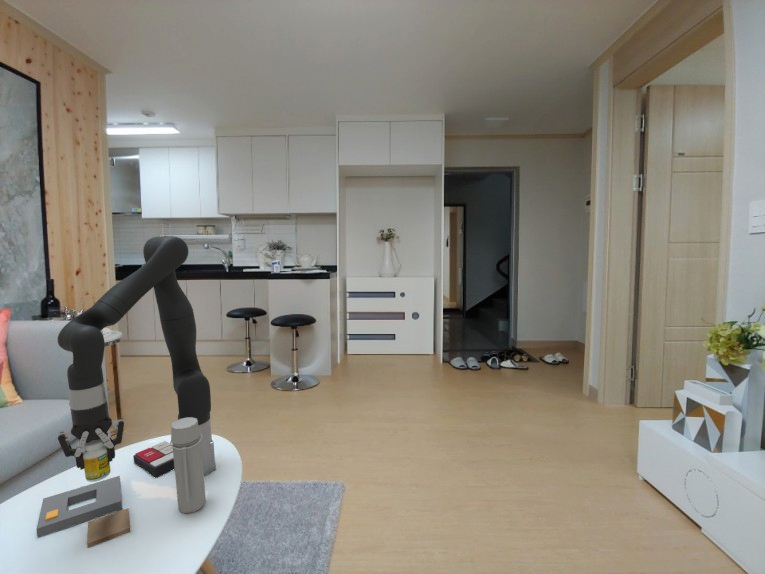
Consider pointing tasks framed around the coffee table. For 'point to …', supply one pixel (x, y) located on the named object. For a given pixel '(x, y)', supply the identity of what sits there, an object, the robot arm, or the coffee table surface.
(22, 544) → the coffee table surface
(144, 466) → the calculator
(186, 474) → the water bottle
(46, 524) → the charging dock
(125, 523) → the coaster pad
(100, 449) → the supplement bottle
